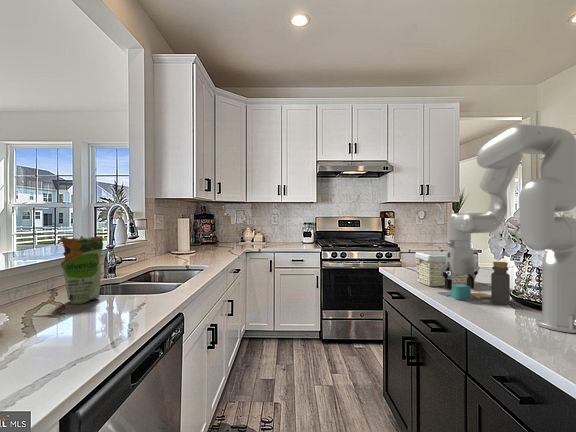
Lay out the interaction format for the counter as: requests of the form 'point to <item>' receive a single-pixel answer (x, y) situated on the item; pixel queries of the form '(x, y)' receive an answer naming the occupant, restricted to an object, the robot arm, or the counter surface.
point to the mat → (445, 293)
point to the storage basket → (436, 269)
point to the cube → (461, 292)
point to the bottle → (500, 284)
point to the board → (477, 295)
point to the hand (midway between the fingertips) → (459, 288)
